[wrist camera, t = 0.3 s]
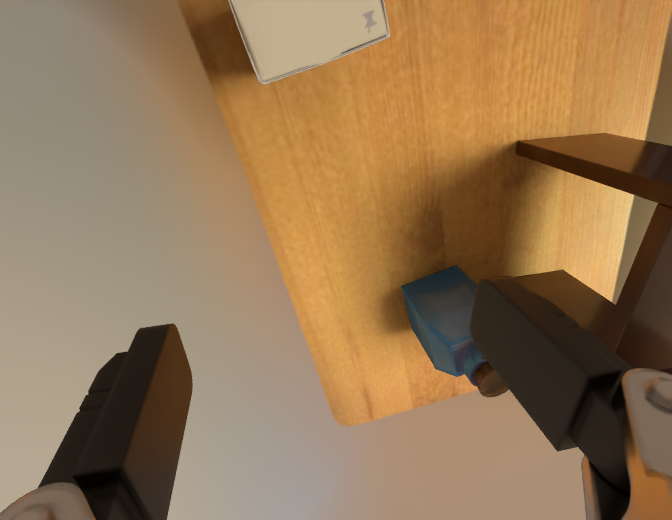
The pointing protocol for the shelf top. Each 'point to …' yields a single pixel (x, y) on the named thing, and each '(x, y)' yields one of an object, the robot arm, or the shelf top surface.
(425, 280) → the perfume bottle
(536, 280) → the walnut shelf
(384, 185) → the shelf top surface
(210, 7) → the shelf top surface
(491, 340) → the robot arm
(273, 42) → the cosmetic box
